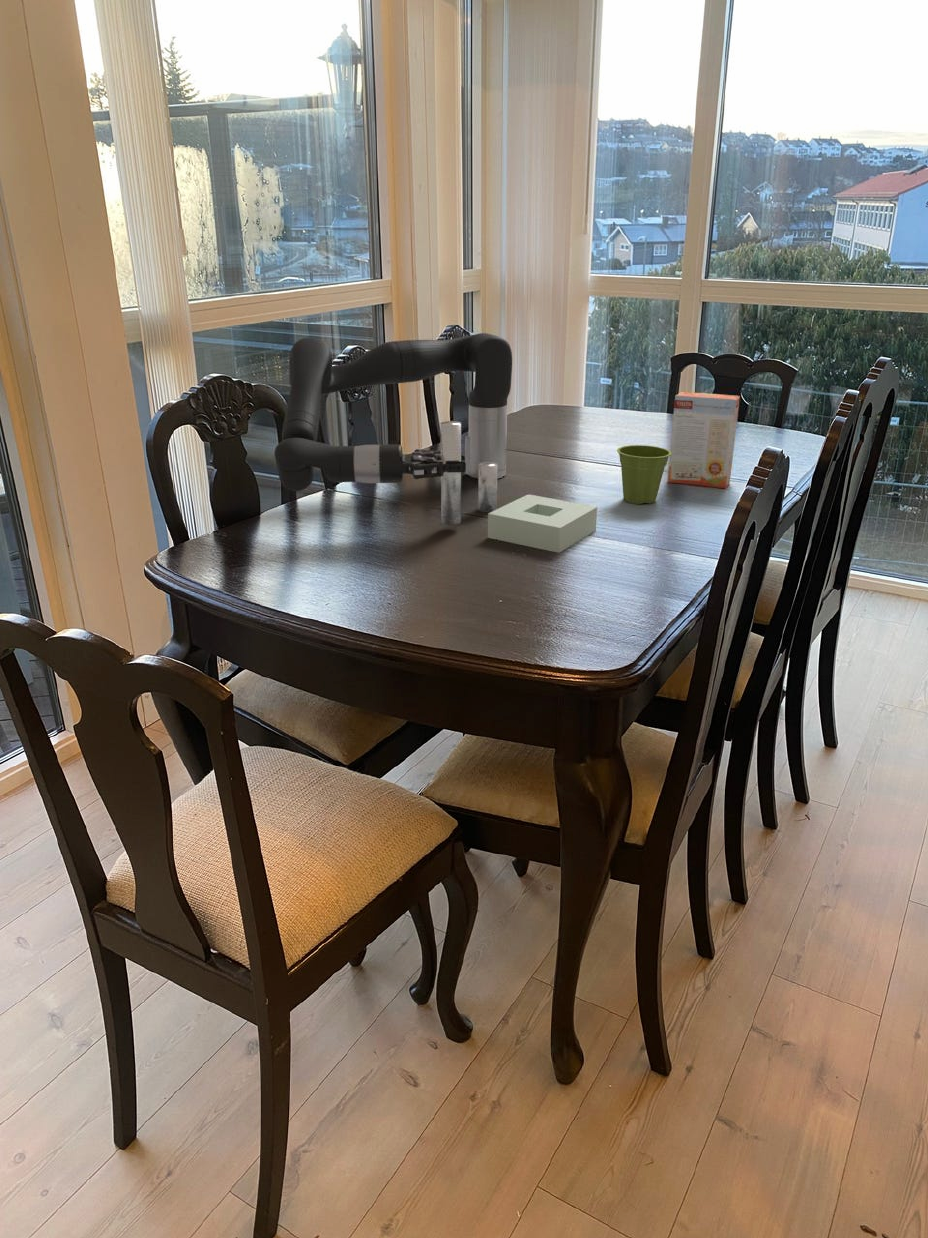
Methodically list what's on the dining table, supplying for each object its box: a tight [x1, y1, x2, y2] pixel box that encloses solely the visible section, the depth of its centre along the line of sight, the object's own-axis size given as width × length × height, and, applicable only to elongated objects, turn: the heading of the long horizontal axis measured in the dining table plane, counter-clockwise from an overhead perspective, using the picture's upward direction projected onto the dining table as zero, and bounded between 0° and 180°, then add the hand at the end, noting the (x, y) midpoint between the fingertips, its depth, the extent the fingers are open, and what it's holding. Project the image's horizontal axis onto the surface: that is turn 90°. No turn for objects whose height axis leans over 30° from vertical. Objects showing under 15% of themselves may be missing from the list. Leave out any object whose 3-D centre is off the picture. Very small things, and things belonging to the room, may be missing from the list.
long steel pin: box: [440, 420, 462, 525], centre depth 180 cm, size 4×4×20 cm
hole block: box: [487, 494, 598, 554], centre depth 181 cm, size 16×16×5 cm
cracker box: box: [667, 391, 741, 489], centre depth 213 cm, size 14×6×21 cm, turn 65°
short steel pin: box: [477, 462, 498, 513], centre depth 195 cm, size 4×4×10 cm
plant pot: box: [616, 444, 672, 505], centre depth 201 cm, size 12×12×11 cm
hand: (464, 463), depth 179 cm, fingers closed on long steel pin, 4 cm apart
